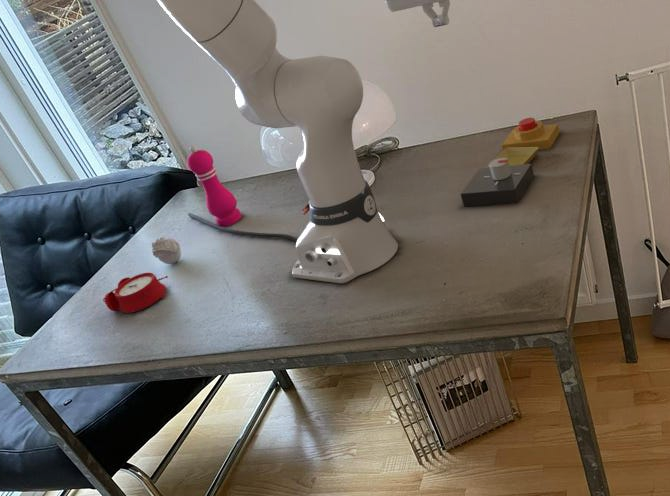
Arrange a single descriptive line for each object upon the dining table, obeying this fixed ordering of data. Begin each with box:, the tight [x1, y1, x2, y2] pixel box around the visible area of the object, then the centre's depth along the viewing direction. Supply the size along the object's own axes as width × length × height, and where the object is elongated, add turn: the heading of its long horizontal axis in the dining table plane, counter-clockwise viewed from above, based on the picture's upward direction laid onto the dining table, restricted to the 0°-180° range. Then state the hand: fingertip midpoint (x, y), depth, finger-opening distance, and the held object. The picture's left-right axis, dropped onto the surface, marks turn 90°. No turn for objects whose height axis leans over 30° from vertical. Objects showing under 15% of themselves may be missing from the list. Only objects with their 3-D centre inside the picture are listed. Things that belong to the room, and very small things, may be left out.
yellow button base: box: [501, 119, 560, 151], centre depth 169 cm, size 11×8×4 cm
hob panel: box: [460, 163, 535, 208], centre depth 154 cm, size 12×11×3 cm
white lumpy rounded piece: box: [151, 236, 182, 265], centre depth 173 cm, size 6×7×7 cm
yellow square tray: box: [487, 147, 539, 168], centre depth 163 cm, size 9×9×2 cm
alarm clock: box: [102, 272, 168, 314], centre depth 162 cm, size 10×6×15 cm
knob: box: [488, 158, 511, 180], centre depth 152 cm, size 4×4×3 cm
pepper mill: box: [186, 144, 243, 228], centre depth 180 cm, size 7×7×20 cm
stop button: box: [518, 117, 536, 131], centre depth 167 cm, size 4×4×2 cm
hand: (441, 25), depth 150 cm, fingers closed
